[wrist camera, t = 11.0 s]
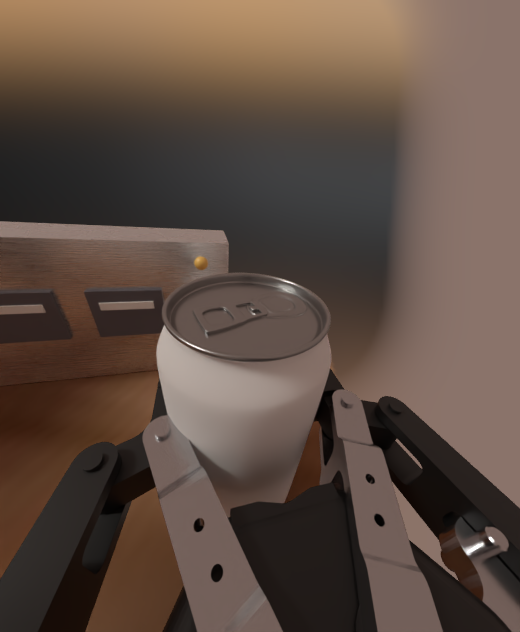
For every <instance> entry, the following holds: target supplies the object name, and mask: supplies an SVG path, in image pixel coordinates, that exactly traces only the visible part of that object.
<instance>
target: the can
mask: <svg viewBox="0 0 520 632" xmlns="http://www.w3.org/2000/svg"><path fill="white" fill-rule="evenodd" d="M162 320H163V323H164V327H163V329H162V332H161V334H160V337H159V340H158V344H157V350H156V356H157V367H158V372H159V378H160V383H161V387H162V392H163V396H164V401H165V405H166V410H167V414H168V415H169V417H170V419H171V420H172V422H173V424H174V425H175V426H176V428H177V429H178V430H179V431H180V432H181V433H182V434H183V435H184V436H185V437H186V438H188V440H189V442H190V444H191V446H192V449H193V451H194V453H195V455H196V457H197V460H198V462H199V464H200V465H201V467H203V468H204V469H205V471H206V473H207V475H208V477H209V479H210V481H211V483H212V485H213V488H214V490H215V492H216V494H217V496H218V498H219V501H220V503H221V505H222V507H223V509H224V511H225V514H226V516H227V518H229V517H230V509H231V508H235V507H238V506H242V505H246V504H250V503H254V502H258V501H259V502H273V503H284V502H285V500H286V497H287V495H288V492H289V490H290V487H291V484H292V481H293V479H294V476H295V473H296V470H297V467H298V464H299V461H300V459H301V456H302V453H303V450H304V447H305V444H306V441H307V438H308V435H309V432H310V429H311V427H312V424H313V421H314V418H315V415H316V412H317V409H318V406H319V403H320V400H321V397H322V394H323V391H324V388H325V385H326V381H327V378H328V374H329V370H330V365H331V349H330V344H329V340H328V336H327V333H328V330H329V328H330V323H331V318H330V313H329V310H328V308H327V306H326V305H325V303H324V302H323V301H322V300H321V299H320V298H319V297H318V296H317V295H315V294H314V293H313V292H311V291H310V290H308V289H306V288H305V287H303V286H301V285H298V284H296V283H293V282H291V281H288V280H285V279H281V278H278V277H273V276H268V275H262V274H253V273H225V274H216V275H211V276H206V277H202V278H198V279H195V280H193V281H190V282H188V283H186V284H184V285H182V286H180V287H178V288H177V289H176V290H174V291H173V292H172V293H171V294H170V295H169V296H168V297H167V299H166V300H165V302H164V304H163V307H162Z"/></svg>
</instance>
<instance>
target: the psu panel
mask: <svg viewBox="0 0 520 632" xmlns="http://www.w3.org/2000/svg"><path fill="white" fill-rule="evenodd" d="M225 273H228V241H227V239H226V237H225V234H224V231H217V230H193V229H169V228H144V227H120V226H96V225H72V224H71V225H70V224H48V223H24V222H0V386H5V385H15V384H24V383H34V382H44V381H54V380H64V379H74V378H83V377H93V376H103V375H113V374H123V373H133V372H142V371H152V370H158V367H157V356H156V350H157V344H158V340H159V337H160V334H161V332H162V329H163V327H164V323H163V320H162V307H163V304H164V302H165V300H166V299H167V297H168V296H169V295H170V294H171V293H172V292H173V291H174V290H176V289H177V288H178V287H180V286H182V285H184V284H186V283H188V282H190V281H193V280H195V279H198V278H202V277H206V276H211V275H216V274H225Z"/></svg>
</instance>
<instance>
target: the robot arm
mask: <svg viewBox="0 0 520 632" xmlns="http://www.w3.org/2000/svg"><path fill="white" fill-rule="evenodd" d="M314 421H319V423H320V428H319V439H320V456H321V476H320V484H319V486H315V487H311V488H309V489H307V490H306V491H305V492H303V493H302V494H300V495H299V496H297V497H296V498H294V499H293V500H291V501H290V502H288V503H273V502H259V501H258V502H254V503H250V504H246V505H242V506H238V507H235V508H231V509H230V517H229V518H227V516H226V514H225V511H224V509H223V507H222V505H221V503H220V501H219V498H218V496H217V494H216V492H215V490H214V488H213V485H212V483H211V481H210V479H209V477H208V475H207V473H206V471H205V469H204V468H203V467H201V465H200V464H199V462H198V460H197V457H196V455H195V453H194V451H193V449H192V446H191V444H190V442H189V440H188V438H186V437H185V436H184V435H183V434H182V433H181V432H180V431H179V430H178V429H177V428H176V426H175V425H174V424H173V422H172V420H171V419H170V417H169V415H168V414H167V410H166V405H165V401H164V396H163V392H162V387H161V383H160V378H159V382H158V389H157V393H156V399H155V404H154V410H153V415H152V419H151V421H150V423H149V424H148V426H147V427H146V428H145V430H144V431H143V432H142V433H140V434H139V435H137V436H136V437H134V438H132V439H130V440H128V441H125V442H123V443H121V444H119V445H117V446H115V445H114V444H112V443H109V442H101V443H97V444H94V445H92V446H90V447H88V448H86V449H85V450H83V451H82V452H81V453H80V454H79V455H78V456H77V457H76V458H75V459H74V461H73V462H72V463H71V465H70V467H69V468H68V470H67V472H66V473H65V475H64V477H63V478H62V480H61V481H60V483H59V485H58V486H57V488H56V490H55V491H54V493H53V494H52V496H51V498H50V499H49V501H48V503H47V504H46V506H45V507H44V509H43V511H42V512H41V514H40V516H39V517H38V519H37V520H36V522H35V524H34V525H33V527H32V529H31V530H30V532H29V533H28V535H27V537H26V538H25V540H24V542H23V543H22V545H21V547H20V548H19V550H18V551H17V553H16V555H15V556H14V558H13V560H12V561H11V563H10V564H9V566H8V568H7V569H6V571H5V573H4V574H3V576H2V577H1V579H0V632H85V630H86V627H87V625H88V622H89V619H90V616H91V613H92V611H93V608H94V605H95V602H96V599H97V597H98V594H99V591H100V588H101V585H102V583H103V580H104V577H105V574H106V572H107V569H108V566H109V563H110V560H111V558H112V555H113V552H114V549H115V546H116V544H117V541H118V538H119V535H120V532H121V530H122V527H123V524H124V521H125V518H126V516H127V513H128V510H129V507H130V504H131V502H132V500H134V499H135V498H137V497H139V496H141V495H142V494H144V493H146V492H147V491H149V490H151V489H153V488H154V487H156V488H157V492H158V497H159V501H160V504H161V508H162V511H163V515H164V518H165V522H166V525H167V529H168V532H169V535H170V539H171V542H172V546H173V549H174V553H175V556H176V560H177V563H178V567H179V570H180V573H181V577H182V580H183V584H184V586H183V588H182V590H181V592H180V594H179V597H178V599H177V601H176V603H175V605H174V608H173V610H172V612H171V614H170V616H169V618H168V621H167V623H166V625H165V627H164V629H163V632H520V508H519V507H517V506H516V505H515V504H514V503H513V502H512V501H511V500H510V499H509V498H508V497H507V496H505V495H504V494H503V493H502V492H501V491H500V490H499V489H498V488H497V487H496V486H494V485H493V484H492V483H491V482H490V481H489V480H488V479H487V478H486V477H484V476H483V475H482V474H481V473H480V472H479V471H478V470H477V469H476V468H474V467H473V466H472V465H471V464H470V463H469V462H468V461H467V460H466V459H465V458H463V457H462V456H461V455H460V454H459V453H458V452H457V451H456V450H454V448H452V447H451V446H450V445H449V444H448V443H447V442H446V441H445V440H444V439H442V438H441V437H440V436H439V435H438V434H437V433H436V432H435V431H434V430H433V429H431V428H430V427H429V426H428V425H427V424H426V423H425V422H424V421H422V420H421V419H420V418H419V417H418V416H417V415H416V414H415V413H413V411H411V410H410V409H409V408H408V407H407V406H406V405H405V404H404V403H403V402H401V401H399V400H398V399H396V398H393V397H388V396H385V397H382V398H380V400H379V402H378V403H375V402H368V401H363V400H360V399H359V398H358V397H357V396H356V395H355V394H354V393H352V392H350V391H348V390H344V388H343V387H342V385H341V384H340V382H339V381H338V379H337V378H336V376H335V375H334V373H333V372H332V370H331V369H330V370H329V374H328V378H327V381H326V385H325V388H324V391H323V394H322V397H321V400H320V403H319V406H318V409H317V412H316V415H315V418H314ZM314 421H313V422H314ZM396 439H398V440H399V441H400V442H401V443H402V444H403V445H404V446H405V447H406V448H407V449H408V450H409V451H410V452H411V453H412V454H413V456H414V457H415V458H416V459H417V460H418V461H419V462H420V464H421V466H422V469H421V468H420V467H419V466H418V465H417V464H416V463H415V462H414V461H413V459H412V458H411V457H410V456H409V455H408V454H407V453H406V452H405V451H404V450H403V449H402V447H400V445H399V444H398V443H397V442H396V441H395V440H396ZM392 482H393V483H394V484H395V486H396V487H397V488H398V489H399V491H400V492H401V493H402V494H403V496H404V497H405V498H406V499H407V501H408V502H409V503H410V504H411V506H412V507H413V508H414V509H415V511H416V512H417V513H418V514H419V516H420V517H421V518H422V519H423V521H424V522H425V523H426V524H427V526H428V527H429V528H430V530H431V531H432V532H433V533H434V535H435V536H436V537H437V538H438V540H439V542H440V546H441V549H442V551H441V558H442V560H443V562H444V564H445V565H446V566H447V568H448V569H450V570H451V571H453V572H455V574H456V575H457V578H458V580H459V581H458V580H456V579H455V578H454V577H453V576H452V575H450V574H449V573H448V572H447V571H445V570H444V569H443V568H442V567H441V566H440V565H438V564H437V563H436V562H435V561H434V560H432V559H431V558H430V557H429V556H428V555H427V554H425V553H424V552H423V551H422V550H421V549H419V548H418V547H417V546H416V545H415V544H413V543H412V542H411V541H410V540H409V539H408V536H407V533H406V529H405V526H404V522H403V519H402V516H401V512H400V509H399V505H398V502H397V498H396V495H395V492H394V488H393V485H392Z"/></svg>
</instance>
